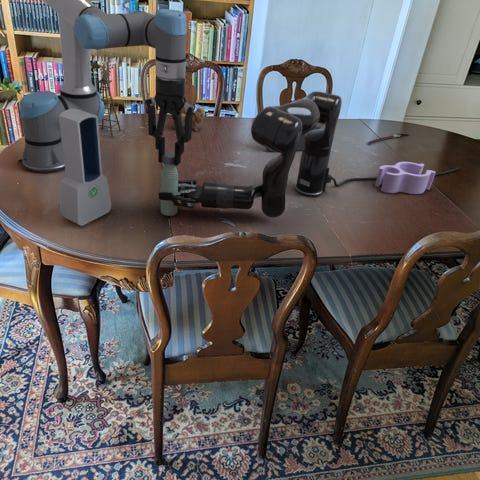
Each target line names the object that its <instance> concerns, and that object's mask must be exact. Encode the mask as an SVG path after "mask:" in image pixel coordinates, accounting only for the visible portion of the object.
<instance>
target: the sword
mask: <svg viewBox="0 0 480 480" xmlns="http://www.w3.org/2000/svg"><path fill="white" fill-rule="evenodd" d="M401 134H402V133H396V134H392V135H389V136H383V137H379V138H376V139H372V140H370V141H368V143H367V144H368V145H372V144H373V143H377V142H381V141H384V140H389V139H393V138H400V137H402V136H406V135H409V134H404V135H401Z"/></svg>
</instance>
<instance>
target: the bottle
mask: <svg viewBox="0 0 480 480" xmlns="http://www.w3.org/2000/svg"><path fill="white" fill-rule="evenodd" d="M178 181H179V172H178V169H177V166H175V164H174V165H166V164H163V166H162V169H161V171H160V192H168V193H178ZM178 207H179V206H175V205H174V203H173V202H172V201H169V200H160V213H161V214H162V215H163V216H167V217H168V216H169V217H170V216H175V215H176V214H178Z"/></svg>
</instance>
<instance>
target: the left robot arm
mask: <svg viewBox="0 0 480 480" xmlns="http://www.w3.org/2000/svg"><path fill="white" fill-rule="evenodd" d="M42 1H43V2H44V3H45V4H46V5H48V6H49V7H50V8H51V9H52V10H53V11H54V12H56V14H57V15H58V26H59V38H60V51H61V61H62V71H63V73H62V74H63V83H62V84H61V85H60V86H59V94H57V93H56V92H54V91H51V90H44V91H42V90H37V91H33V92H30V93H27V94H25V95H24V96H22V97H21V98H20V100H19V103H18V104H19V116H20V119H21V125H22V132H23V137H24V148H23V153H22V158H21V159H18V160H17V162H18V163H19V164H20V163H22V166H23V168H24V169H25V170H27V171H29V172H33V173H39V174H46V173H56V172H61V171H63V170H65V164H64V156H63V147H62V139H61V131H60V123H59V115H60V114H61V113H62V112H64V111H66V110H69V109H79V110H82V111H85V112H88V113H91V114H94V115H96V116H98V125H100V123H102V119H103V117H105V114H104V112H105V111H106V109H105V107H106V106H105V102H103V101H102V100H103V95H102V93H101V94H100V93H99V92H100V91H98V90H97V87H96V86H95V85H94V84H93V83H92V67H91V66H92V64H91V50H95V51H100V50H105V49H106V50H107V49H116V48H129V47H141V46H142V47H143V46H146V47H149V48H152V49H154V50H155V51H154V52H155V75H156V77H155V95H154V97H151V96H150V97H148V98H146V99H145V100H144V102H145V106H146V109H147V130H148V135H149V136H150V137H153V138H154V140H155V142H154V143H155V144H154V145H155V150H157V151H158V152H157V157H158V160H157V161H158V163H160V164H161V163H162V153H163V152H166V137H165V136H164V130H165V126H166V125H165V124H166V120H167V116H168V115H171V118H172V120H173V123H174V125H175V128H174V130H175V135H176V140H177V141H176V142H175V143H174V152H175V166H176V167H178V166H180V164H181V162H182V155H183V154H184V153H185V143H186V144H187V143H188V142H189V141H191V140H192V131H193V128H192V119H193V112H195V111H196V105H195V104H190V103H188V102H187V100H186V97H185V94H186V80H185V77H186V69H187V68H186V67H187V65H186V64H187V61H186V59H187V58H186V57H187V34H188V28H187V26H188V25H187V23H188V22H187V15H186V14H185V12H184V11H182V10H176V9H171V8H161V9H157V10H156V11H155V14H152V13H149V12H147V11H144V10H130V12H128V13H127V12H126V13H125V12H124V13H106V12H104V11H103V10H102V9H100V7H99V6H97V5H96V4H94V3H93V2H92V1H93V0H42ZM156 105H157V106H158V108H159V111H158V118H157V112H156V110H157V109H156ZM183 108H184V113H185V114H186V115H185V122H184V125H183V123H182V119H181V113H182V110H183Z"/></svg>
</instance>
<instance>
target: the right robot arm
mask: <svg viewBox="0 0 480 480" xmlns="http://www.w3.org/2000/svg"><path fill="white" fill-rule="evenodd" d="M342 102H343V100H342V97H341V96H340V95H337V94H334V93H333V94H332V93H328V92H324V91H318V90H317V91H311V92H310V93H308V94H307V95H306V96H304V97H302V98H299V99H297V100H293V101H291V102H288V103H285V104H282V105H269V106H266V107H264V108H262V109H261V110H260V111H259V112H258V113H257V114H256V116H255V117H254V119H253V121H252V124H251V129H250V133H251V137H252V139H253V141H254V142H255V143H257V144H258V145H260V146H262V147H264V148H266V147H267V148H269V149H271V150H273V151H272V152H276V153H279V155H277V156H276V157H273V158H271V160H269V161H268V162H267V163H265V165H264V167H263V171H262V174H261V175H262V176H261V180H262V181H261V183H257V184H251V185H242V184H232V183H227V182H226V183H225V182H212V181H203V182H202V185H198V184H197V180H196V179H186V180H181V179H180V180H178V193H168V192H161V191H158V200H160V201H161V200H169V201H172V202H173V203H174V205H175V206H178V207H181V208H186V209H190V210H191V209H192V210H193V209H194V207H195V204H201V205H200V206H201V208H206V209H207V208H208V209H220V210H221V209H222V210H228V209H234V210H251V209H252V207H253V205H254V201H255V199H259V198H261V199H260V200H261V202H260V203H261V205H260V207H261V211H262V213H263V214H264V216H266V217H268V218H271V219H274V218H279V217H281V216H282V215H283V214H284V212H285V211H286V193H287V187H288V182H289V181H288V180H289V173H290V170H291V167H292V165H293V162H294V158H295V156H296V153H297V151H298V150H297V147H298V144H299V141H300V138H301V135H303V134H305V137H304V143H303V149H302V150H301V156H300V161H299V167H298V171H297V179H296V183H295V188H294V189H295V191H296V192H297V193H299V194H301V195H303V196H307V197H318V196H321V195H322V194H323V193H325V191H326V188H327V184H330V183H332V181H333V184H334V186H335V187H341V186H344V185H345V184H346V183H348V182H352V181H374V180H375V181H376V180H377V177H378V176H377V177H352V178H348V179H345V180H343V181H342V182H341V183H337V180H336V179H335V177H334V176H332V175H331V174H329V173H330V166H329V162H330V156H331V152H332V148H333V143H334V138H335V134H336V129H337V125H338V121H339V118H340V114H341V110H342V105H343V103H342ZM318 124H321V125H324V127H321V129H317V130H312V129H314V128H315V127H316V126H317V125H318ZM460 169H461V167H456V169H455V168H453V169H449V170H446V171H441V172H437V173H435V176H434V177H436V176H442V175H445V174H449V173H452V172H455V171H458V170H460Z"/></svg>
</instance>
